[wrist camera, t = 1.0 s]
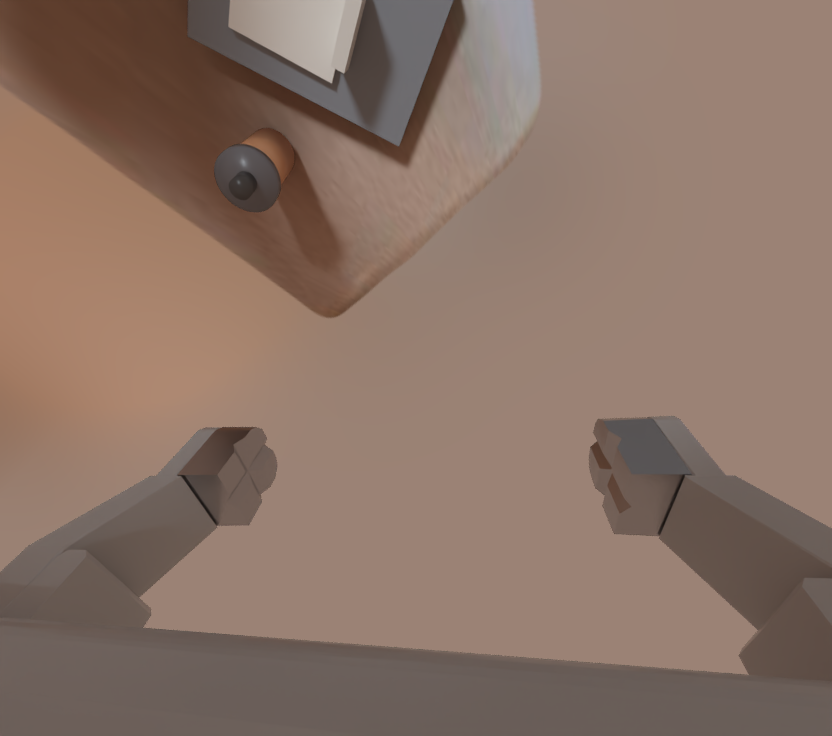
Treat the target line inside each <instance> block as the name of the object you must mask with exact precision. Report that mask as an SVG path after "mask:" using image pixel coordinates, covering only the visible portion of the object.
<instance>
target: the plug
mask: <svg viewBox="0 0 832 736" xmlns="http://www.w3.org/2000/svg"><path fill="white" fill-rule="evenodd" d="M294 161H295V157H294V151H293V148H292V146H291V144H290V143H289V141H288V140H287V139H286V137H285V136H284V135H282V134H281V133H280V132H278V131H276V130H274V129H270V128H263V129H260V130H258V131H256V132H255V133H254V134H252V135H251V136H250V137H249V138H247V139H246V140H245V141H244V142H242V143H241V144H236V145H232V146H230V147H229V148H227V149H226V150H224V151H223V152H222V153H221V154H220V155H219V156H218V158H217V160H216V162H215V167H214V174H215V179H216V182H217V185H218V187H219V189H220V190H221V192H222V193H223V195H224V196H225V197H226V198H227V199H228V200H229V201H230V202H231V203H232V204H234V205H235V206H237V207H239V208H240V209H243V210H245V211H249V212H262V211H265V210H267V209H269V208H270V207H271V206H272V205H273V204H274V202H275V201H276V199H277V198H278V196H279V194H280V190H281V185H282V183H283V182H284V180H285V179H286V177H287V176H288V174H289V173H290V171H291V170H292V168H293V166H294Z"/></svg>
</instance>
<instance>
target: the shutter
mask: <svg viewBox="0 0 832 736" xmlns="http://www.w3.org/2000/svg"><path fill="white" fill-rule="evenodd" d="M365 2H366V0H230V9H229V24H228V27H229V28H231V29H233V30H235V31H237V32H239V33H240V34H242V35H244V36H246V37H248V38H250V39H251V40H253V41H255V42H257V43H259V44H260V45H262V46H264V47H266V48H268V49H270V50H271V51H273V52H275V53H277V54H279V55H281V56H282V57H284V58H286V59H288V60H290V61H291V62H293V63H295V64H297V65H299V66H301V67H302V68H304V69H306V70H308V71H310V72H312V73H313V74H315V75H317V76H319V77H321V78H322V79H324V80H326V81H328V82H330V83H333V79H334V74H335V70H336V69H337V70H338V71H340V72H342V73H345V72H346V71H347V70H348V69H349V65H350V61H351V57H352V54H353V50H354V46H355V42H356V38H357V34H358V30H359V26H360V22H361V18H362V14H363V10H364V6H365Z"/></svg>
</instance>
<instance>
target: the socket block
mask: <svg viewBox="0 0 832 736" xmlns="http://www.w3.org/2000/svg"><path fill="white" fill-rule="evenodd" d="M452 3H453V0H366V2H365V6H364V10H363V14H362V18H361V22H360V26H359V30H358V34H357V38H356V42H355V46H354V50H353V54H352V57H351V61H350V65H349V69H348V70H347V71H346V72H345V73H342V72H340V71H338V70H337V69H336V70H335V74H334V79H333V83H330V82H328V81H326V80H324V79H322V78H321V77H319V76H317V75H315V74H313V73H312V72H310V71H308V70H306V69H304V68H302V67H301V66H299V65H297V64H295V63H293V62H291V61H290V60H288V59H286V58H284V57H282V56H281V55H279V54H277V53H275V52H273V51H271V50H270V49H268V48H266V47H264V46H262V45H260V44H259V43H257V42H255V41H253V40H251V39H250V38H248V37H246V36H244V35H242V34H240V33H239V32H237V31H235V30H233V29H231V28H229V27H228V24H229V9H230V0H188V37H190V38H191V39H193V40H195V41H197V42H199V43H201V44H203V45H205V46H207V47H209V48H211V49H213V50H214V51H216V52H218V53H220V54H222V55H224V56H226V57H228V58H230V59H232V60H234V61H236V62H237V63H239V64H241V65H243V66H245V67H247V68H249V69H251V70H253V71H255V72H257V73H259V74H261V75H262V76H264V77H266V78H268V79H270V80H272V81H274V82H276V83H278V84H280V85H282V86H284V87H285V88H287V89H289V90H291V91H293V92H295V93H297V94H299V95H301V96H303V97H305V98H307V99H309V100H310V101H312V102H314V103H316V104H318V105H320V106H322V107H324V108H326V109H328V110H330V111H332V112H333V113H335V114H337V115H339V116H341V117H343V118H345V119H347V120H349V121H351V122H353V123H355V124H356V125H358V126H360V127H362V128H364V129H366V130H368V131H370V132H372V133H374V134H376V135H378V136H380V137H381V138H383V139H385V140H387V141H389V142H391V143H393V144H395V145H397V146H399V145H400V143H401V140H402V137H403V134H404V132H405V129H406V126H407V124H408V121H409V118H410V116H411V113H412V110H413V108H414V105H415V102H416V100H417V97H418V94H419V91H420V89H421V86H422V83H423V81H424V78H425V75H426V73H427V70H428V67H429V65H430V62H431V59H432V57H433V54H434V51H435V48H436V46H437V43H438V40H439V38H440V35H441V32H442V30H443V27H444V24H445V22H446V19H447V16H448V14H449V11H450V8H451V5H452Z"/></svg>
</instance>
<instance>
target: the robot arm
mask: <svg viewBox="0 0 832 736" xmlns="http://www.w3.org/2000/svg"><path fill="white" fill-rule="evenodd" d="M593 433H594V435H595V437H596V439H597V442H596V443H594V444H593V445H592V446H591V447H590V454H589V468H590V473H591V477H592V480H593V483H594V486H595V488H596V489H597V490H598V491H600V492H601V493H602V494H603V495H605V497H604V502H603V508H604V511H605V513H606V516H607V518H608V521H609V523H610V525H611V528H612V530H613V533H614V534H626V535H646V536H659V539H660V540H661V541H662V542H664V543H665V544H666V545H667V546H668V547H669V548H670V549H671V550H672V551H673V552H674V553H675V554H676V555H677V556H679V557H680V558H681V559H682V560H683V561H684V562H685V563H686V564H687V565H688V566H689V567H690V568H691V569H693V570H694V571H695V572H696V573H697V574H698V575H699V576H700V577H701V578H702V579H703V580H704V581H706V582H707V583H708V584H709V585H710V586H711V587H712V588H713V589H714V590H715V591H716V592H717V593H718V594H720V595H721V596H722V597H723V598H724V599H725V600H726V601H727V602H728V603H729V604H730V605H732V606H733V607H734V608H735V609H736V610H737V611H738V612H739V613H740V614H741V615H742V616H743V617H744V618H746V619H747V620H748V621H749V622H750V623H751V624H752V625H753V626H754V627H755V628H756V629H757V630H758V631H757V633H755V634H754V636H753V637H752V638H751V639H750V640H749V641H748V642H747V644H746V645H745V646H744V647H743V648H742V650H741V652H740V654H739V657H740V659H741V661H742V663H743V665H744V666H745V668H746V670H747V672H748V674H749V675H745V674H732V673H719V672H706V671H693V670H681V669H668V668H655V667H642V666H629V665H615V664H603V663H590V662H578V661H564V660H551V659H539V658H526V657H513V656H500V655H487V654H474V653H462V652H448V651H435V650H423V649H410V648H397V647H385V646H372V645H359V644H344V643H333V642H320V641H307V640H295V639H282V638H269V637H256V636H243V635H230V634H216V633H204V632H190V631H178V630H165V629H152V628H143V627H144V625H145V624H146V622H147V621H148V619H149V618H150V616H151V608H150V607H149V606H148V605H146V604H145V603H144V602H143V601H142V600H141V599H140V598H139V597H140V596H141V595H143V593H145V592H146V591H147V590H148V589H149V588H150V587H151V586H153V584H155V583H156V582H157V581H158V580H159V579H160V578H161V577H163V576H164V575H165V574H166V573H167V572H168V571H169V570H170V569H171V568H173V567H174V566H175V565H176V564H177V563H178V562H179V561H180V560H182V559H183V558H184V557H185V556H186V555H187V554H188V553H189V552H190V551H192V550H193V549H194V548H195V547H196V546H197V545H198V544H199V543H201V542H202V541H203V540H204V539H205V538H206V537H207V536H208V535H210V534H211V532H213V531H214V530H215V529H216V528H217V526H220V525H221V526H229V525H249V524H250V522H251V521H252V519H253V517H254V515H255V513H256V512H257V510H258V508H259V506H260V505H261V503H262V499H261V494H262V493H263V492H264V491H265V490H267V489H268V488H269V487H270V486H271V484H272V483H273V481H274V479H275V476H276V471H277V460H276V457H275V454H274V452H273V451H272V450H271V449H270V448H268V447H267V446H266V445H265V443H266V440H267V437H266V435H265V434H264V432H263V430H262V429H260V428H257V427H222V428H203V429H200V430H198V431H197V432H196V433H195V434H194V435H193V437H192V438H191V439H190V440H189V441H188V442H187V443H186V444H185V445H184V446H183V447H182V448H181V449H180V451H179V452H178V453H177V454H176V455H175V456H174V457H173V458H172V459H171V460H170V461H169V462H168V464H167V465H166V466H165V467H164V468H163V469H162V470H161V471H160V472H159V473H158V475H156V476H149V477H148V478H146V479H144V480H143V481H141V482H139V483H137V484H136V485H134V486H132V487H130V488H129V489H127V490H125V491H123V492H122V493H120V494H118V495H116V496H115V497H113V498H111V499H109V500H108V501H106V502H104V503H102V504H101V505H99V506H97V507H95V508H94V509H92V510H90V511H88V512H87V513H85V514H83V515H81V516H80V517H78V518H76V519H74V520H73V521H71V522H69V523H68V524H66V525H64V526H62V527H60V528H59V529H57V530H55V531H53V532H52V533H50V534H48V535H46V536H45V537H43V538H41V539H39V540H38V541H36V542H34V543H32V544H31V545H29V546H28V547H27V548H25V549H24V550H23V551H22V552H21V553H20V554H19V555H18V556H17V557H16V558H15V559H14V560H13V561H11V563H9V564H8V565H7V566H6V567H5V568H4V569H3V570H2V571H1V572H0V736H832V528H830V527H828V526H826V525H824V524H823V523H821V522H819V521H817V520H815V519H813V518H812V517H809V516H808V515H806V514H804V513H802V512H801V511H799V510H797V509H795V508H793V507H791V506H789V505H788V504H786V503H784V502H782V501H780V500H779V499H777V498H775V497H773V496H771V495H769V494H768V493H766V492H764V491H762V490H760V489H759V488H757V487H755V486H753V485H751V484H749V483H747V482H746V481H744V480H742V479H740V478H738V477H737V476H726V475H725V474H724V472H723V471H722V470H721V469H720V468H719V466H718V465H717V464H716V463H715V462H714V460H713V459H712V458H711V457H710V456H709V454H708V453H707V452H706V451H705V449H704V448H703V447H702V446H701V444H700V443H699V442H698V441H697V440H696V438H695V437H694V436H693V435H692V433H691V432H690V431H689V430H688V429H687V427H686V426H685V425H684V424H683V422H682V421H681V420H680V419H679V418H677V417H675V416H659V417H647V418H615V419H614V418H612V419H598V420H597V422H596V423H595V427H594V432H593Z"/></svg>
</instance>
